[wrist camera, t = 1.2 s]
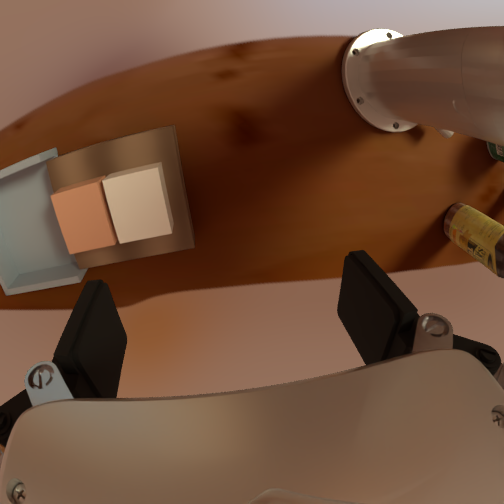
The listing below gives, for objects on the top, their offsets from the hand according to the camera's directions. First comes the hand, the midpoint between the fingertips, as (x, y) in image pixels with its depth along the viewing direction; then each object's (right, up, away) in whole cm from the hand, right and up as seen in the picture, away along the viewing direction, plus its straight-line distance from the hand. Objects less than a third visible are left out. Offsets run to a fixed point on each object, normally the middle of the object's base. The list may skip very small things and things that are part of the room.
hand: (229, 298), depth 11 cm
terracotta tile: (-15, +6, +14) cm, 21 cm away
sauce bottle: (+32, +7, +27) cm, 42 cm away
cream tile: (-9, +7, +15) cm, 19 cm away
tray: (-25, +5, +16) cm, 30 cm away
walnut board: (-12, +8, +17) cm, 22 cm away
